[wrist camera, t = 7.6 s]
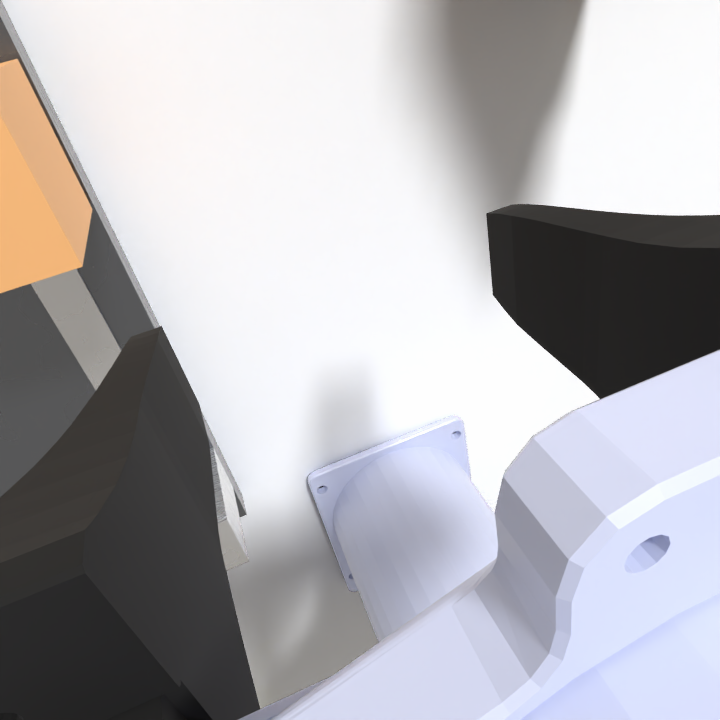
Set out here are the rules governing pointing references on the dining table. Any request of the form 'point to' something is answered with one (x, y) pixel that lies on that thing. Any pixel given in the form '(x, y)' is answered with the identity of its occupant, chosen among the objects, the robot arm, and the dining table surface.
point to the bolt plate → (77, 339)
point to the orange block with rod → (35, 191)
